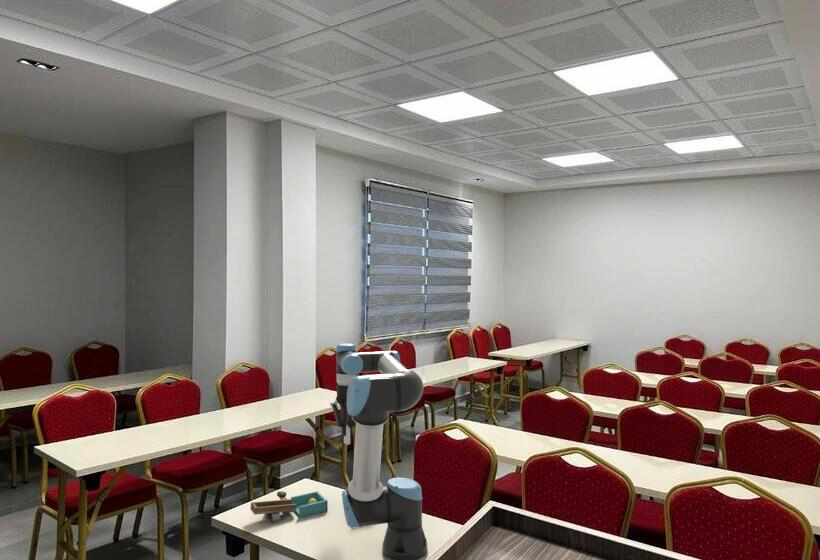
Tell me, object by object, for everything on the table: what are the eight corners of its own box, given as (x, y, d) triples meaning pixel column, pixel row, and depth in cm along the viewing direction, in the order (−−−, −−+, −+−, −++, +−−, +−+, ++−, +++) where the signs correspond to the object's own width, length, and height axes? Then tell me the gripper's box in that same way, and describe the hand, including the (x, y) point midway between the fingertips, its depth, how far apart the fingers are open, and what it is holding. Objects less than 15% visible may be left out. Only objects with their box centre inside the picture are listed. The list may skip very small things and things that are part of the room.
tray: (327, 510, 218) (327, 500, 218) (300, 517, 213) (299, 507, 213) (317, 500, 228) (317, 491, 228) (290, 507, 222) (290, 497, 222)
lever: (297, 513, 215) (298, 504, 215) (254, 518, 206) (255, 508, 206) (283, 498, 229) (284, 489, 229) (242, 501, 221) (243, 492, 221)
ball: (311, 509, 219) (319, 505, 221) (309, 502, 218) (316, 498, 220) (309, 506, 222) (316, 502, 223) (306, 499, 221) (313, 495, 223)
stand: (282, 521, 210) (282, 512, 210) (271, 523, 208) (271, 515, 208) (274, 511, 218) (274, 503, 218) (264, 514, 216) (264, 505, 216)
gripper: (357, 379, 224) (358, 438, 225) (327, 383, 217) (327, 443, 218) (365, 383, 217) (366, 443, 218) (334, 387, 211) (335, 449, 211)
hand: (347, 443), depth 218 cm, fingers closed
